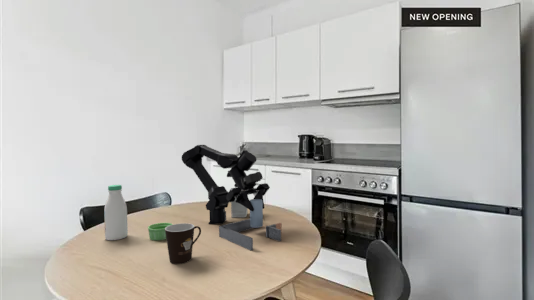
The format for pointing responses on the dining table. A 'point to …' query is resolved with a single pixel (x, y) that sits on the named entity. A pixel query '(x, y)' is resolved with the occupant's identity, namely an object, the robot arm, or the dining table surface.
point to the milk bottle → (115, 214)
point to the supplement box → (238, 210)
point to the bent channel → (242, 240)
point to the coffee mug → (180, 242)
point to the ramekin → (158, 231)
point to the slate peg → (256, 213)
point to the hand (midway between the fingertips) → (258, 209)
